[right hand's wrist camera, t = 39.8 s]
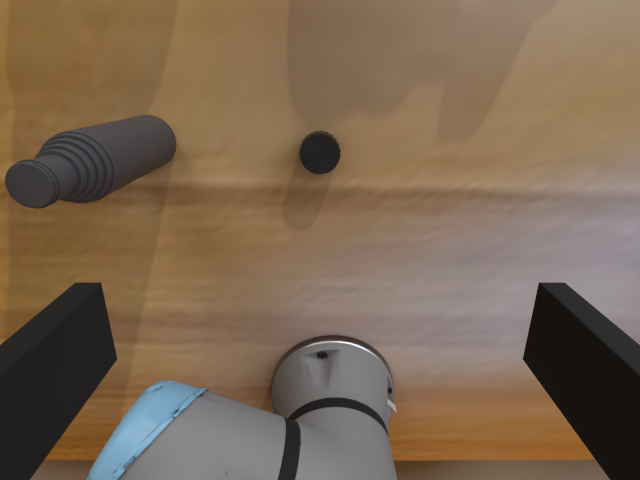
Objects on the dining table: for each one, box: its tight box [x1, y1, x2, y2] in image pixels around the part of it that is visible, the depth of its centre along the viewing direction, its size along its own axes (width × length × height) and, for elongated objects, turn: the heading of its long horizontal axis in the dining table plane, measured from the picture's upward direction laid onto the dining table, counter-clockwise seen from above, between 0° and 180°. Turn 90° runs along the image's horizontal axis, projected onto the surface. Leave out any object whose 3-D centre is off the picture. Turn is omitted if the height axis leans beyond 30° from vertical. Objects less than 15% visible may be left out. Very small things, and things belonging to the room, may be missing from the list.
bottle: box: [5, 115, 176, 208], centre depth 33 cm, size 5×5×19 cm
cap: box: [300, 131, 340, 174], centre depth 42 cm, size 4×4×2 cm
